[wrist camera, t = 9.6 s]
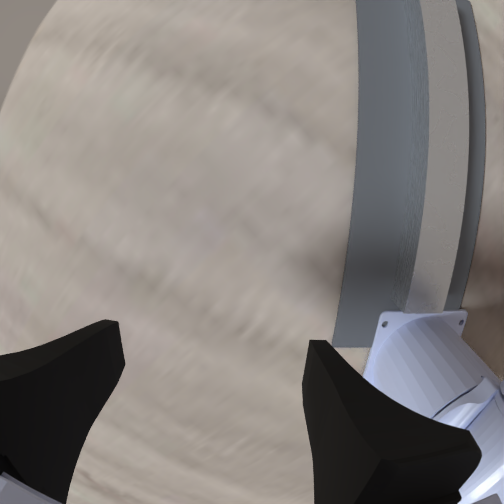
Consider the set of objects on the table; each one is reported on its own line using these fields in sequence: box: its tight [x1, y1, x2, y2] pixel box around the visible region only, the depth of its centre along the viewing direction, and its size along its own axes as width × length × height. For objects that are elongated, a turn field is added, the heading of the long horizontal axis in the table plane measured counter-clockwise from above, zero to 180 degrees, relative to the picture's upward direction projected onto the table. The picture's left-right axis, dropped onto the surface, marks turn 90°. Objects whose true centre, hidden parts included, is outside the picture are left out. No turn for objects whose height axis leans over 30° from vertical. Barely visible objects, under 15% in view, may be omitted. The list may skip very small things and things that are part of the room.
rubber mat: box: [332, 0, 485, 347], centre depth 17 cm, size 28×10×1 cm, turn 177°
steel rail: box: [390, 0, 469, 314], centre depth 15 cm, size 22×3×2 cm, turn 177°
